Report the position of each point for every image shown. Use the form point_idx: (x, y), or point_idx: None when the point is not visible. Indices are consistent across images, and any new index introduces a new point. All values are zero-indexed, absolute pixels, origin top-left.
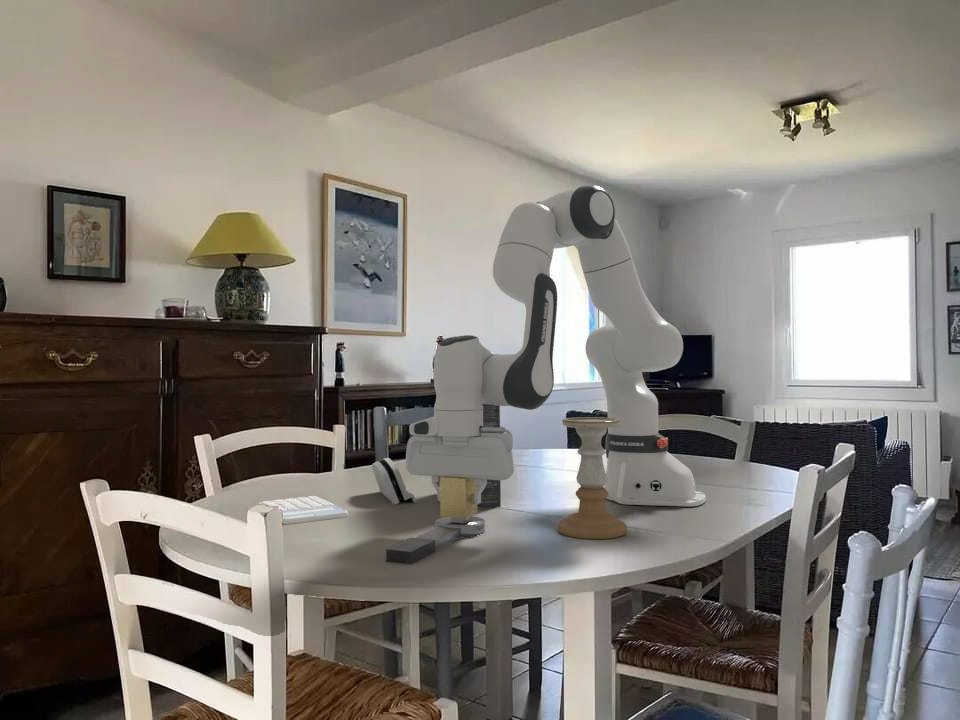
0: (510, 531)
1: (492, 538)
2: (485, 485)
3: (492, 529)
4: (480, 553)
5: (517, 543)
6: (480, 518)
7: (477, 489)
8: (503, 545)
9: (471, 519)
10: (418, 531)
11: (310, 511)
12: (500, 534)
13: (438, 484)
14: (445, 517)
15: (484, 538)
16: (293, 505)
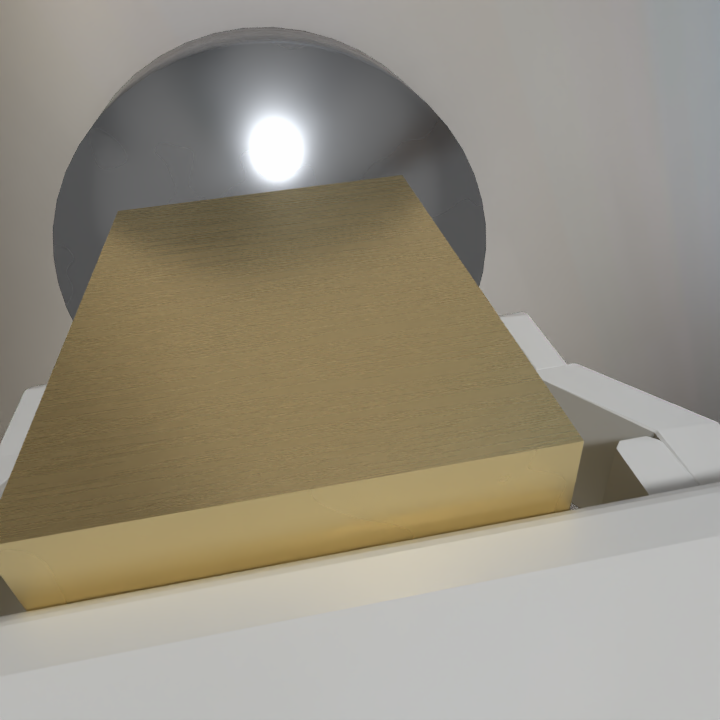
0: (635, 34)
1: (556, 283)
2: (683, 420)
3: (474, 38)
4: (575, 505)
5: (717, 306)
6: (392, 92)
7: (585, 495)
8: (648, 371)
9: (336, 175)
10: (11, 368)
11: None
12: (580, 166)
13: (7, 597)
14: (67, 220)
15: (510, 306)
16: None
